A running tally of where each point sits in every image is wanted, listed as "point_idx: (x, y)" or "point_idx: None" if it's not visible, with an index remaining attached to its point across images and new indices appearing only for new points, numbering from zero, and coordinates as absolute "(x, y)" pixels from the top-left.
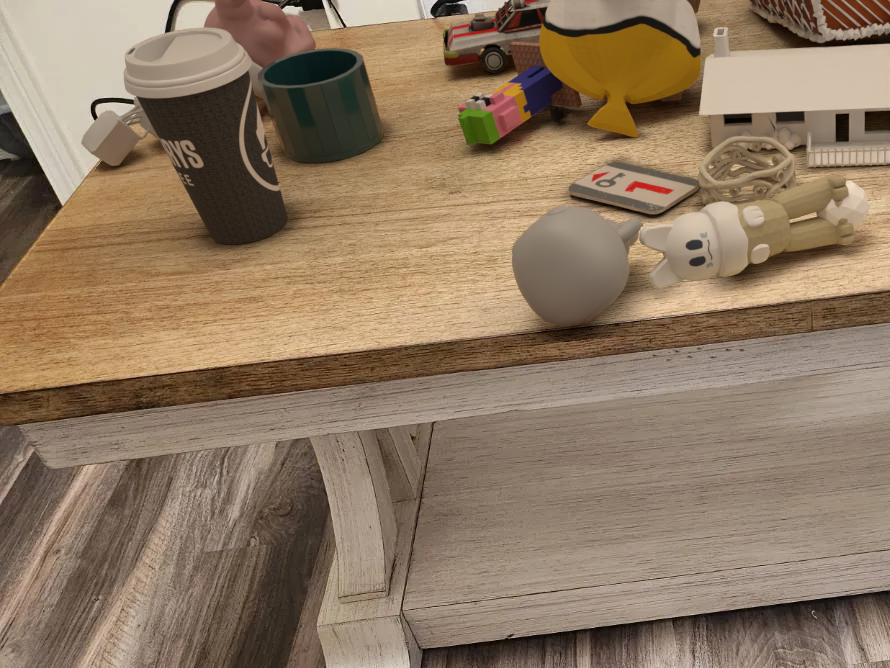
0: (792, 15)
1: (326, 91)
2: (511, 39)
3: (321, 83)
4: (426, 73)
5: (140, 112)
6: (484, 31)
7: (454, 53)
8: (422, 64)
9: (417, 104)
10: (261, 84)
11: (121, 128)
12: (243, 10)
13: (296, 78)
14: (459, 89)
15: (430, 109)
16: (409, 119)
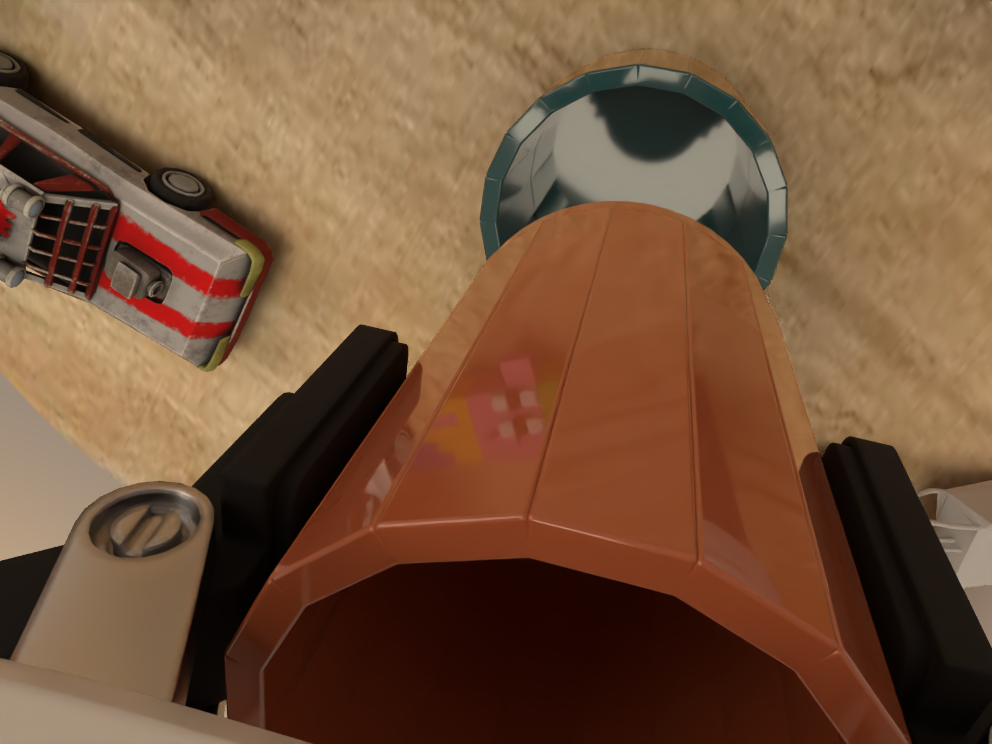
0: None
1: (679, 68)
2: (111, 168)
3: (686, 72)
4: (309, 325)
5: (932, 520)
6: (144, 242)
7: (241, 243)
8: (294, 371)
9: (400, 195)
10: (783, 246)
11: (986, 514)
12: None
13: None
14: (295, 185)
15: (393, 142)
16: (455, 134)
